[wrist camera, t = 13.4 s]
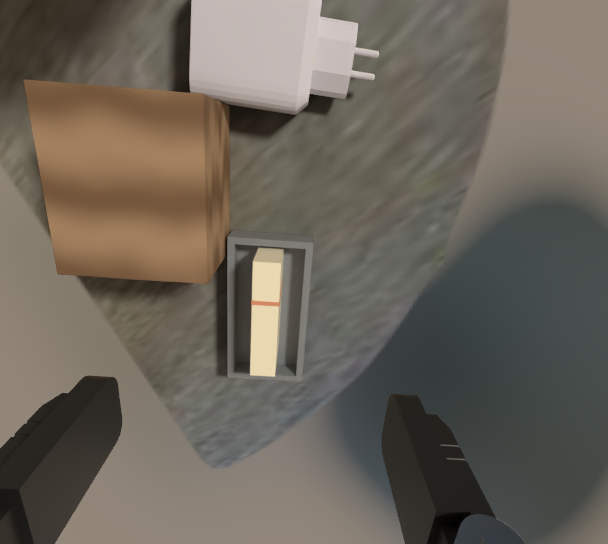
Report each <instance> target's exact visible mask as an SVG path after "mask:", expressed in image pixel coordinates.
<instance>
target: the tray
mask: <svg viewBox="0 0 608 544" xmlns="http://www.w3.org/2000/svg"><path fill="white" fill-rule="evenodd" d="M259 246H268V247H282V248H284V259H283V277H282V279H283V283H282V295H281V313H280V331H279V347H278V356H277V364H276V373H275V377H271V376H253V375H250V356H251V315H252V305H251V300H252V274H253V260H254V257H255V255H256V252H257V250H258V247H259ZM312 255H313V236H308V235H294V234H279V233H265V232H250V231H236V230H232V231H231V233H230V234H229V235H228V237H227V322H228V378H242V379H260V380H277V381H295V382H302V373H303V361H304V350H305V338H306V326H307V314H308V302H309V290H310V278H311V267H312Z"/></svg>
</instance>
